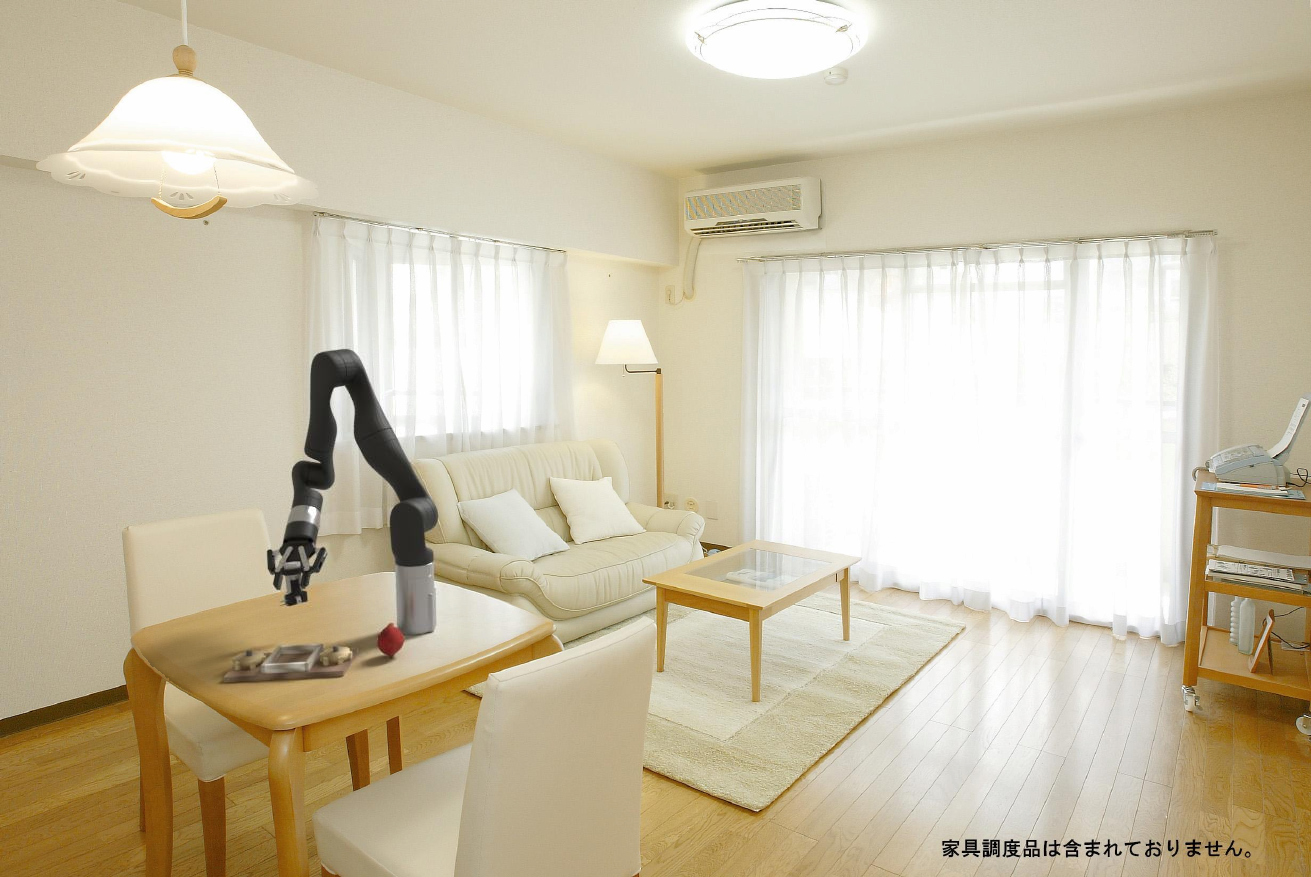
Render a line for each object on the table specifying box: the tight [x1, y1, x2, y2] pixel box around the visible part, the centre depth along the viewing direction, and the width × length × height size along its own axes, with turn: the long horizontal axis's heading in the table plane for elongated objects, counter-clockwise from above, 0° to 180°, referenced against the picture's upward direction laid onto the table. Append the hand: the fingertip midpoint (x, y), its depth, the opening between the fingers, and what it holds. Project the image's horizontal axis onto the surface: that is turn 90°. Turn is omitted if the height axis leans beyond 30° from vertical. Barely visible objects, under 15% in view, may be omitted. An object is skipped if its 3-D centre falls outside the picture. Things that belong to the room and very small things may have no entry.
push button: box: [279, 561, 309, 607], centre depth 184 cm, size 7×5×10 cm
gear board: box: [222, 643, 358, 684], centre depth 169 cm, size 25×13×4 cm, turn 99°
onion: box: [376, 621, 405, 658], centre depth 175 cm, size 6×6×8 cm
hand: (290, 587), depth 183 cm, fingers closed on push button, 5 cm apart
